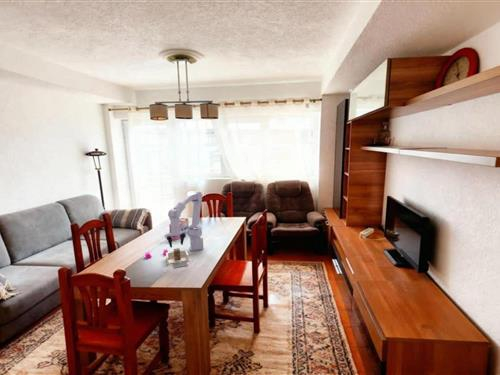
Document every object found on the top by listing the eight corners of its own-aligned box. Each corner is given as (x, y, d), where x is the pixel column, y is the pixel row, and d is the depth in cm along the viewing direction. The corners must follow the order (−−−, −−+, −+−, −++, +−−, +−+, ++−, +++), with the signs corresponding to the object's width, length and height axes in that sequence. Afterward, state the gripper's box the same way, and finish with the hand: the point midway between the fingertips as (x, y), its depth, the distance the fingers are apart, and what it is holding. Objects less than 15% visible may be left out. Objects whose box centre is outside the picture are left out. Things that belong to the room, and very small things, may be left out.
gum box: (176, 240, 226) (175, 225, 224) (168, 239, 228) (167, 225, 226) (189, 232, 247) (188, 218, 245) (181, 231, 249) (181, 218, 247)
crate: (186, 255, 194) (186, 249, 193) (188, 260, 185) (188, 254, 184) (166, 258, 189) (165, 252, 188) (167, 264, 180) (166, 258, 179)
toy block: (146, 266, 188) (146, 256, 187) (146, 262, 194) (145, 253, 193) (169, 261, 195) (168, 252, 194) (167, 258, 200) (166, 249, 199)
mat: (186, 262, 183) (186, 261, 183) (188, 266, 176) (188, 265, 176) (172, 264, 180) (172, 263, 180) (173, 268, 173) (173, 267, 173)
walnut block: (179, 257, 189) (179, 248, 188) (180, 259, 185) (180, 250, 184) (174, 258, 187) (173, 248, 186) (174, 260, 184) (173, 251, 183)
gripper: (183, 223, 190) (184, 241, 192) (162, 227, 182) (163, 246, 184) (187, 225, 185) (188, 244, 187) (166, 229, 176) (167, 249, 178)
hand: (176, 245), depth 185 cm, fingers open, 7 cm apart
